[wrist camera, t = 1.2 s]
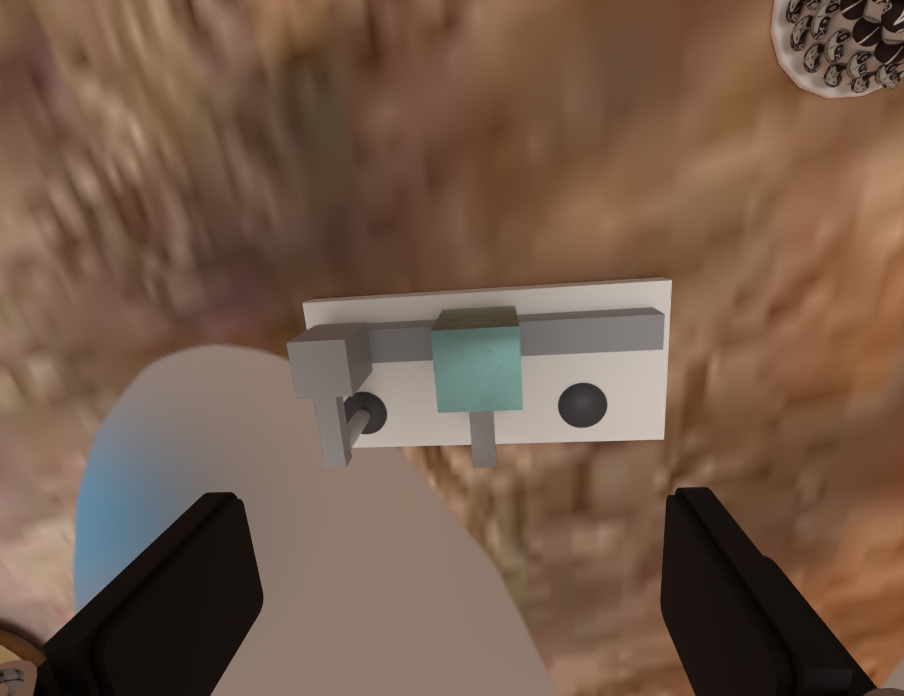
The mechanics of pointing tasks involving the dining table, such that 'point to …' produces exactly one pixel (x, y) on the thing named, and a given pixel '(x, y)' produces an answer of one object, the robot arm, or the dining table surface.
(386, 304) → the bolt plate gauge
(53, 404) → the dining table surface
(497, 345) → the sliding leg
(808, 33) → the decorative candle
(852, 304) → the dining table surface
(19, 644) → the plant saucer
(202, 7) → the dining table surface
